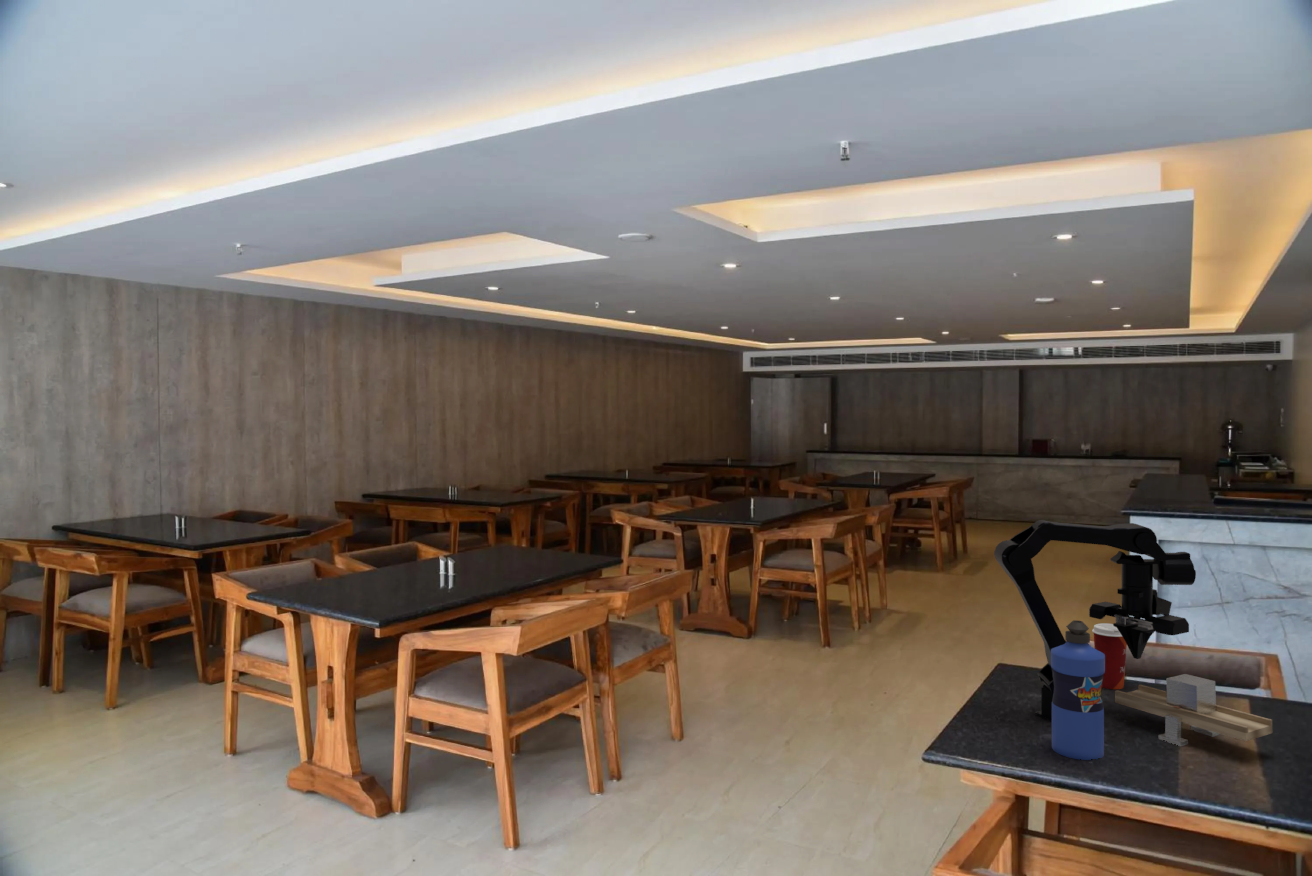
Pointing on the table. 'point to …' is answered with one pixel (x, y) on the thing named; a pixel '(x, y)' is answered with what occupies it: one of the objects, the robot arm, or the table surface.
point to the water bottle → (1077, 696)
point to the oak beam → (1197, 714)
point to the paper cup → (1111, 654)
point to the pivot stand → (1179, 731)
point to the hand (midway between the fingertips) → (1137, 658)
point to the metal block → (1192, 693)
